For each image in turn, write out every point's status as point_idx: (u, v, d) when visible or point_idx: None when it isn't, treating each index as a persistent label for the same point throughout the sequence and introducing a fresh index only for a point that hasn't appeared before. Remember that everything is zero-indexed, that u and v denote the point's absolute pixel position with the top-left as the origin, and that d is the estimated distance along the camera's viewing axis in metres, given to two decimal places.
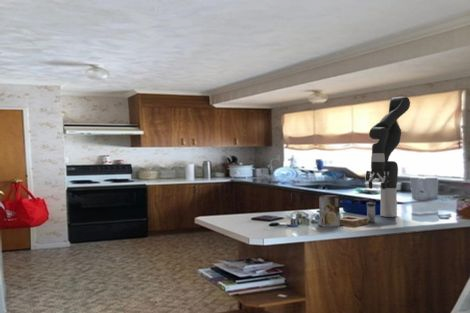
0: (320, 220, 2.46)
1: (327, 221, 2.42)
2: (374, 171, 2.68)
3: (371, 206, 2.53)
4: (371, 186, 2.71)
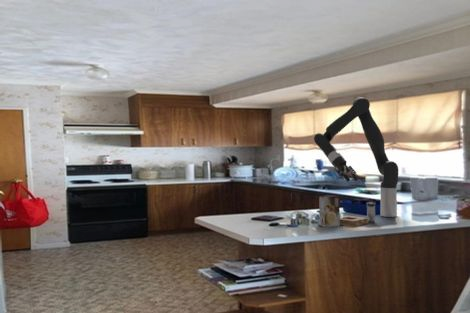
0: (320, 220, 2.46)
1: (327, 221, 2.42)
2: None
3: (371, 206, 2.53)
4: (355, 178, 2.66)
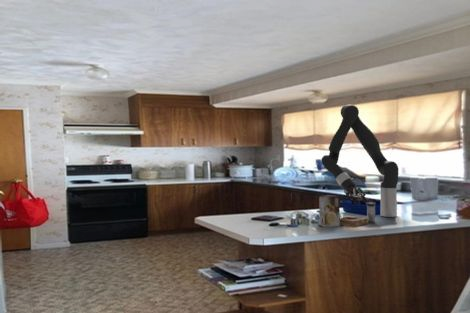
0: (320, 220, 2.46)
1: (327, 221, 2.42)
2: None
3: (371, 206, 2.53)
4: (365, 200, 2.62)
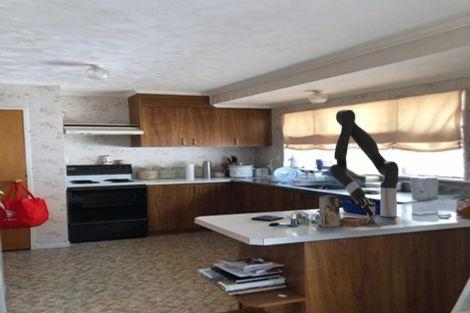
0: (320, 220, 2.46)
1: (327, 221, 2.42)
2: None
3: (371, 206, 2.53)
4: (375, 212, 2.55)
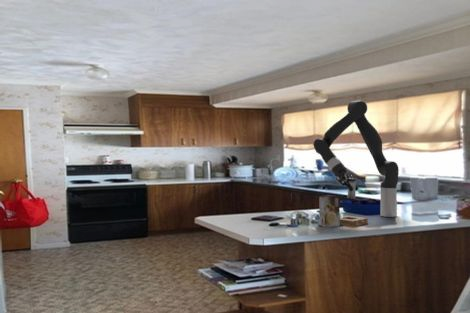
0: (320, 220, 2.46)
1: (327, 221, 2.42)
2: None
3: (352, 181, 2.49)
4: None
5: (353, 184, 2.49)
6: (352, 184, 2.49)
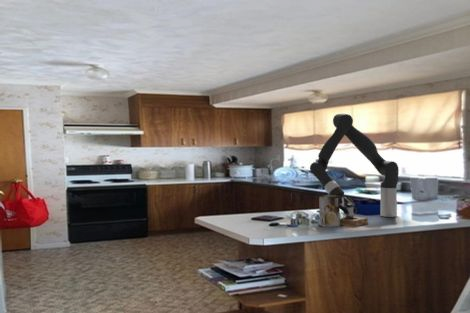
0: (320, 220, 2.46)
1: (327, 221, 2.42)
2: None
3: (349, 207, 2.49)
4: (354, 210, 2.53)
5: (351, 210, 2.49)
6: (350, 210, 2.49)
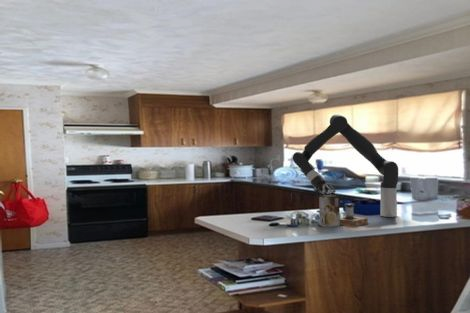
0: (320, 220, 2.46)
1: (327, 221, 2.42)
2: None
3: (349, 207, 2.49)
4: None
5: (351, 210, 2.49)
6: (350, 210, 2.49)
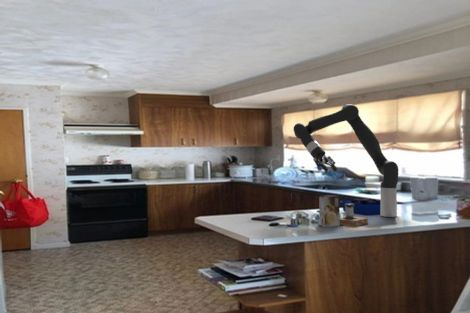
0: (320, 220, 2.46)
1: (327, 221, 2.42)
2: None
3: (349, 207, 2.49)
4: (334, 168, 2.62)
5: (351, 210, 2.49)
6: (350, 210, 2.49)
